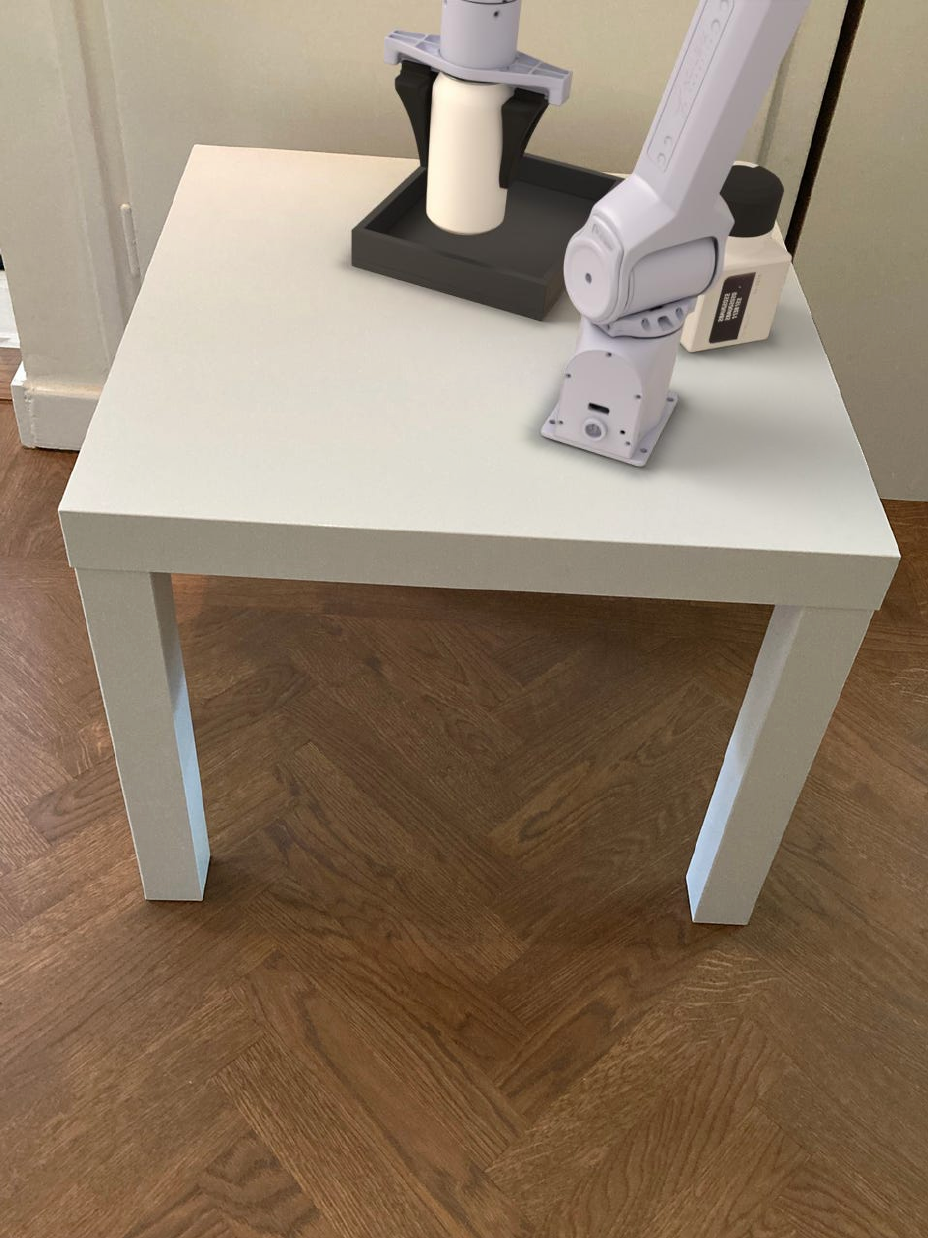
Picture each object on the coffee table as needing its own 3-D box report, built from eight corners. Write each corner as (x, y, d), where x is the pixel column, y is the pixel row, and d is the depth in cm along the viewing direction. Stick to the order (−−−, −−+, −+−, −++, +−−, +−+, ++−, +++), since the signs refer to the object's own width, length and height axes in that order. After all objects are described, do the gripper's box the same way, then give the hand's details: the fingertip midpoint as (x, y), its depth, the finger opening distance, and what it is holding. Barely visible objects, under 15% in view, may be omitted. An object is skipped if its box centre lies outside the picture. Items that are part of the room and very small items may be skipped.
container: (769, 340, 96) (814, 190, 86) (688, 354, 93) (726, 202, 84) (721, 292, 100) (760, 145, 91) (643, 304, 98) (674, 155, 89)
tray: (542, 321, 95) (547, 285, 93) (351, 265, 99) (351, 229, 97) (621, 211, 109) (627, 178, 107) (451, 166, 113) (453, 133, 111)
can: (506, 203, 97) (522, 56, 89) (500, 241, 93) (516, 90, 84) (430, 194, 98) (438, 46, 89) (421, 232, 93) (428, 80, 84)
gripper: (595, -6, 84) (569, 175, 94) (414, -47, 87) (407, 132, 97) (563, 25, 79) (539, 211, 89) (372, -20, 82) (370, 165, 92)
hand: (468, 172), depth 93 cm, fingers closed on can, 6 cm apart
